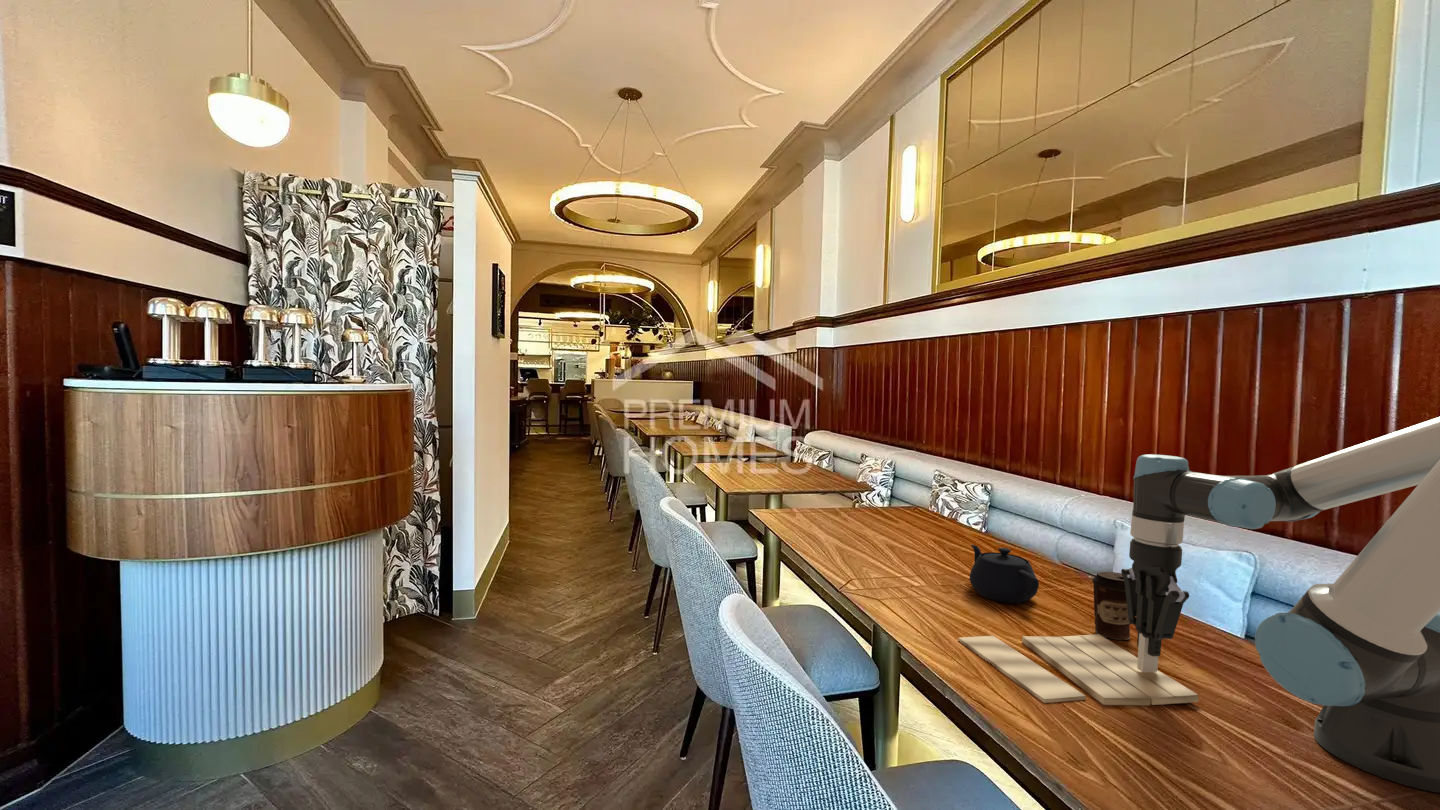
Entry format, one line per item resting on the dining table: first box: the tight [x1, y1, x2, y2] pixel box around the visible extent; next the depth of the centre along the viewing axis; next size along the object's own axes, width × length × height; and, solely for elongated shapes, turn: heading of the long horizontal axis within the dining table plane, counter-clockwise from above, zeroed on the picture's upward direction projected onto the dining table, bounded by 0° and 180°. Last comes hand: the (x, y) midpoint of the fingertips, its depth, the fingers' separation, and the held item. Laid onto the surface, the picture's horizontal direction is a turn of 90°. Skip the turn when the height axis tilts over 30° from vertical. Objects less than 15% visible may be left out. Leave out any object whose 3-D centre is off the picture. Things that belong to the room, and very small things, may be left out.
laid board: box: [1021, 635, 1151, 706], centre depth 109 cm, size 24×8×1 cm, turn 3°
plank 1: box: [958, 635, 1087, 704], centre depth 110 cm, size 24×8×1 cm, turn 11°
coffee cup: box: [1091, 571, 1132, 641], centre depth 126 cm, size 9×8×13 cm
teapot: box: [969, 544, 1040, 604], centre depth 149 cm, size 25×16×12 cm, turn 11°
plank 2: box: [1060, 633, 1199, 706], centre depth 109 cm, size 24×8×1 cm, turn 3°
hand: (1147, 670), depth 106 cm, fingers closed
